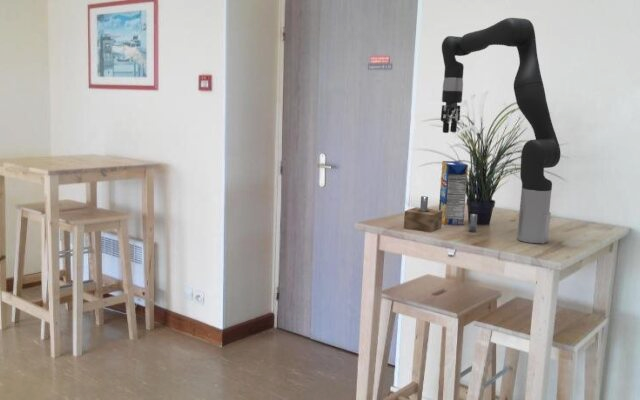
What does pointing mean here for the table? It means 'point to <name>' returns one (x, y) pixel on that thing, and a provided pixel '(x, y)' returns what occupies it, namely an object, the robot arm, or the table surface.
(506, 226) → the table surface
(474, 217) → the short pin
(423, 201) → the long pin
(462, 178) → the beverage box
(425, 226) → the hole block
